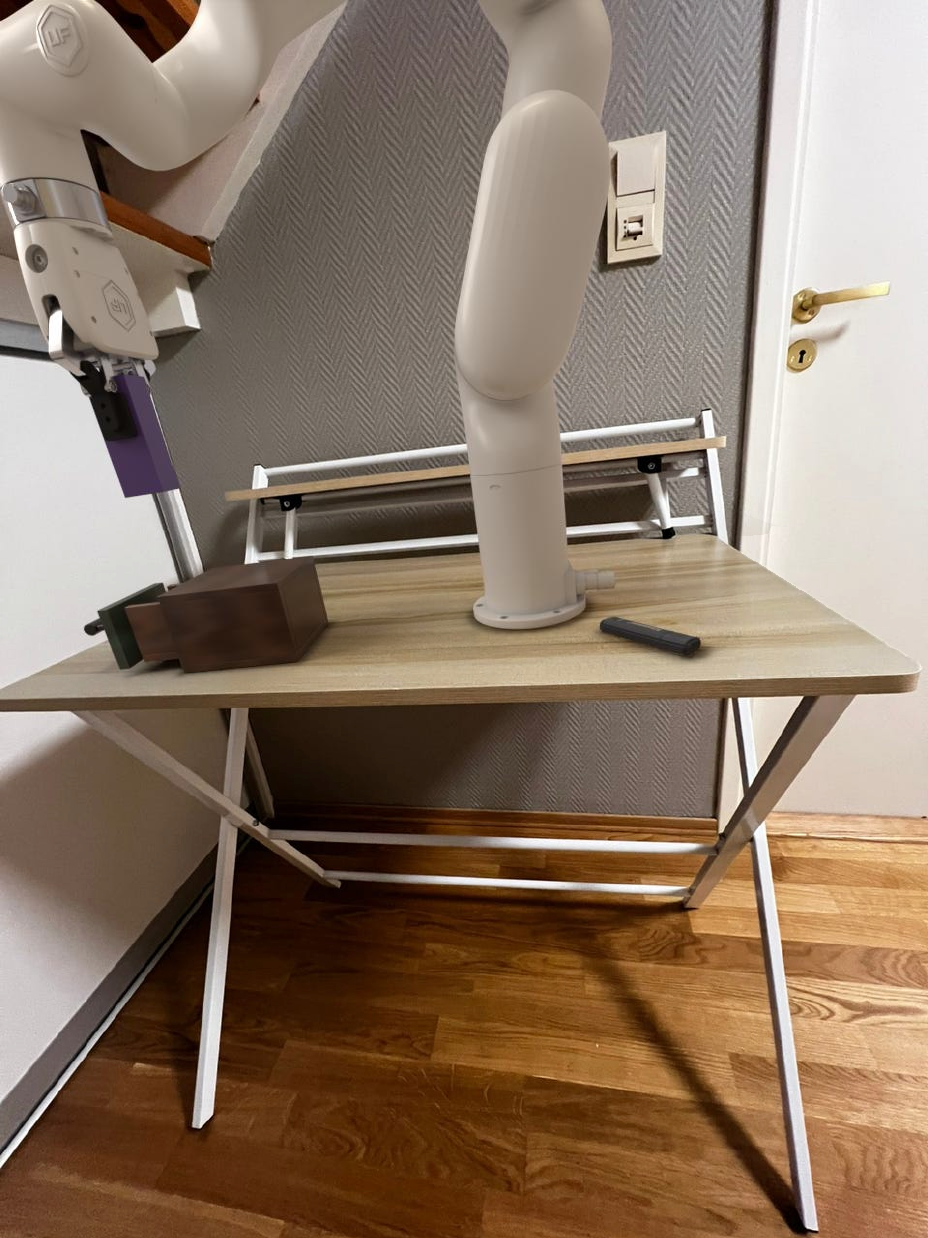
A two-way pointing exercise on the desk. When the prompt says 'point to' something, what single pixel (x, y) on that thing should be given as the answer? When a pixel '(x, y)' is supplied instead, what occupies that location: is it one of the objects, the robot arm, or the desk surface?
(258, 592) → the cabinet
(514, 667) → the desk surface
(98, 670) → the desk surface
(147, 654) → the drawer
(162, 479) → the purple rectangular block
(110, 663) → the desk surface
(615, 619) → the usb stick
